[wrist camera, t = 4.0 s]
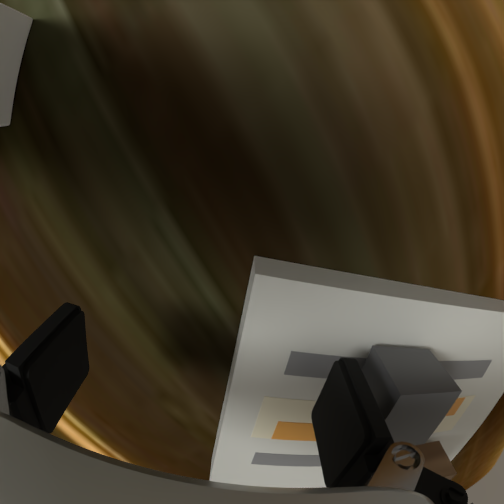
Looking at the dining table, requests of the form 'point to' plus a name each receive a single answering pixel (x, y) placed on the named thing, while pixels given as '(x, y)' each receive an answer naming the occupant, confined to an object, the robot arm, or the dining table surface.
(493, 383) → the switch panel
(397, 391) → the dark gray slider
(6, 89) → the milk
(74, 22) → the dining table surface
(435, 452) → the walnut slider
